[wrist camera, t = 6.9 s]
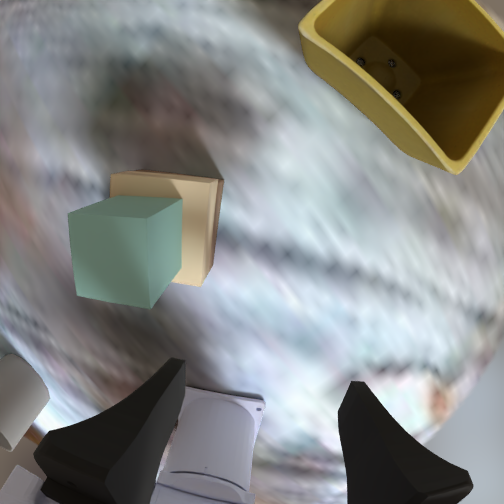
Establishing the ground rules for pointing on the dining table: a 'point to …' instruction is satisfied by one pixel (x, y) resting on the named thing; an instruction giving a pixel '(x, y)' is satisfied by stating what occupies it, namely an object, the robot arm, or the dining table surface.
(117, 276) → the teal block
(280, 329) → the dining table surface
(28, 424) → the cup
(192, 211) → the oak slab
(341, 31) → the flower pot
